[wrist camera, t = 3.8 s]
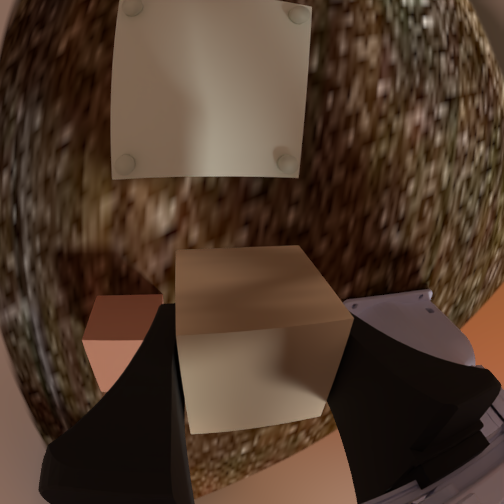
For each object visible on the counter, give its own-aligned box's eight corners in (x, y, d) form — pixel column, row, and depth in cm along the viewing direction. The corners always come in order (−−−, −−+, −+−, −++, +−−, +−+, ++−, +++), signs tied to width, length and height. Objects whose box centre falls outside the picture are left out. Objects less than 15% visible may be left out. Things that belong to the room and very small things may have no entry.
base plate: (305, 11, 13) (316, 4, 12) (292, 174, 18) (302, 180, 16) (123, 2, 11) (117, -7, 10) (115, 175, 16) (109, 182, 14)
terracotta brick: (162, 293, 20) (160, 339, 16) (168, 344, 22) (169, 391, 18) (97, 294, 19) (82, 340, 15) (109, 345, 21) (101, 391, 17)
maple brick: (298, 245, 12) (353, 318, 8) (285, 336, 14) (320, 415, 10) (176, 249, 11) (176, 335, 7) (183, 345, 13) (190, 434, 9)
